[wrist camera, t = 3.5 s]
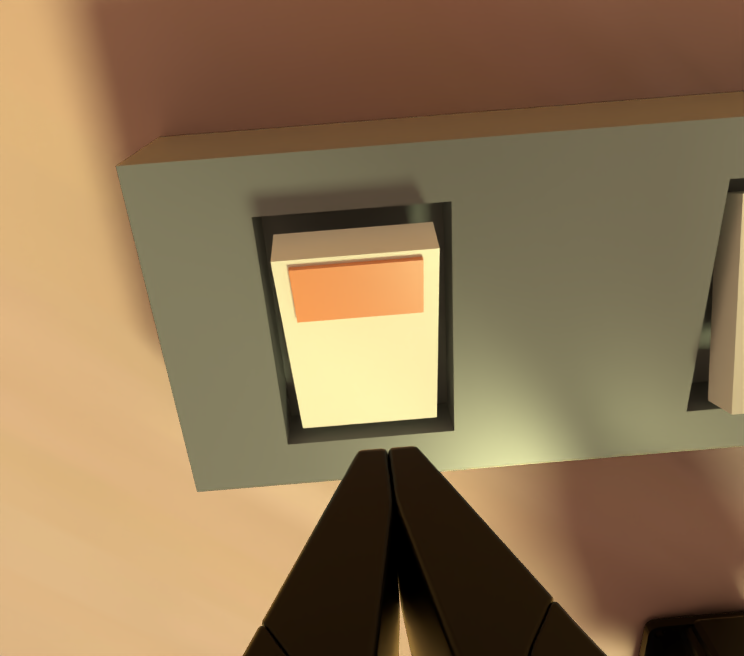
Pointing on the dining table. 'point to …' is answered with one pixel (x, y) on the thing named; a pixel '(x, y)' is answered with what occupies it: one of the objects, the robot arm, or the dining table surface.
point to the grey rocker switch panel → (454, 279)
